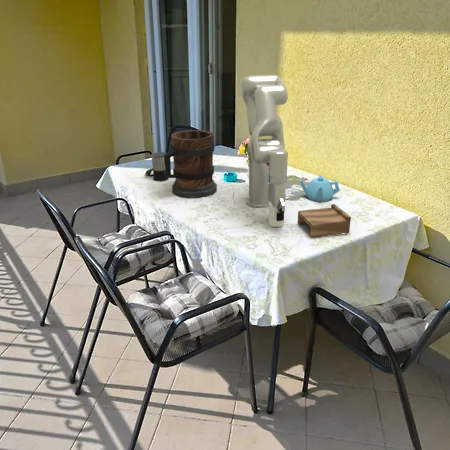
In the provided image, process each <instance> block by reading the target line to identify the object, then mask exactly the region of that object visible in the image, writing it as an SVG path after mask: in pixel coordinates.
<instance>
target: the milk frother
mask: <svg viewBox="0 0 450 450" xmlns="http://www.w3.org/2000/svg"><path fill="white" fill-rule="evenodd" d="M166 153H167V152H165V151H162V152H161V151H160V152H159V151H158V152H157V151H156V152H153V153H151V154H150V156H151V162H152V163H151V164H152V166H151V167H152V168H149V169H148V170H146V171H145V173H144V175H145V176H146V177H153V178H152V180H153V181H155V182H165V181H168V180H169V179H170V178H169V177H166V173H165V163H164V155H165V154H166ZM170 166H172V164H171V161H170ZM151 173H153V174H151Z"/></svg>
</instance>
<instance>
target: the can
mask: <svg viewBox="0 0 450 450" xmlns="http://www.w3.org/2000/svg"><path fill="white" fill-rule="evenodd" d="M278 205H281V204H278ZM280 208H281V207H279V209H280ZM276 217H277V207H274V206H272V203H271V201H270V202H269V206H268V225H269V226H270V227H273V228H280V226H281V227H282V226H284V220H285V219H284V220H283V221H277V220H276Z"/></svg>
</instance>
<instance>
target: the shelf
mask: <svg viewBox="0 0 450 450" xmlns="http://www.w3.org/2000/svg"><path fill="white" fill-rule="evenodd" d="M351 219H352V217H351V215H349V214H348V213H347V212H346V211H344V210H343V209H341V207H339V206H338V205H336V203H332V204H331V205H330V207H324V208H323V207H322V208H315V209H304V210H303V209H302V210H297V223H298V224H302V225H308V226H309V227H310V230H309V238H311V239H315V237H317V238H322V236H325V237H329V236H328V235H333V236H337V235H336V234H342V233H349V234H350V230H351V229H350V228H351ZM298 224H297V225H298ZM342 235H343V234H342Z"/></svg>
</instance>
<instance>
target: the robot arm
mask: <svg viewBox="0 0 450 450" xmlns="http://www.w3.org/2000/svg"><path fill="white" fill-rule="evenodd" d="M240 93H241V97H242V99H243V103H244V105H245V107H246V109H245V110H246V115H247V126H248V127H247V128H248V133H249V135H250V136H251V137H250V142H248V144H247V148H246V149H247V156H248V198H247V199H245V204H246V206H248V207H250V208H256V209H257V208H258V209H259V208H261V207H262V208H266V207H269V202H270V201H271V203H272V206H274V207H277V217H276V220H277V221H283V220H285V211H286V184H287V182H288V180H287V179H288V159H289V153H288V151H287V149H286V148H285V138H284V137H285V136H284V126H283V121H282V119H281V117H280V115H279V116H278V113H277V106H284V105H285V104H286V103H287V102H288V99H289V98H288V97H289V93H288V90H287V87H286V85H285V83H284V82H283V81H282V79H281V78H280V76H278V75H277V74H255V75H248V76H244V77H243V78H242V80H241V82H240ZM259 137H261V138H262V137H271V138H262V139H261V138H260V139H259ZM278 204H281V205H278ZM279 207H281V208H280V209H279ZM283 222H284V221H283Z"/></svg>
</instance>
